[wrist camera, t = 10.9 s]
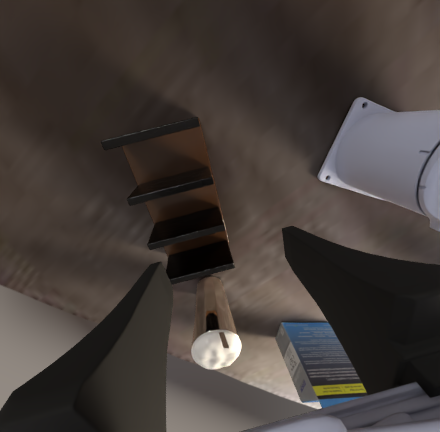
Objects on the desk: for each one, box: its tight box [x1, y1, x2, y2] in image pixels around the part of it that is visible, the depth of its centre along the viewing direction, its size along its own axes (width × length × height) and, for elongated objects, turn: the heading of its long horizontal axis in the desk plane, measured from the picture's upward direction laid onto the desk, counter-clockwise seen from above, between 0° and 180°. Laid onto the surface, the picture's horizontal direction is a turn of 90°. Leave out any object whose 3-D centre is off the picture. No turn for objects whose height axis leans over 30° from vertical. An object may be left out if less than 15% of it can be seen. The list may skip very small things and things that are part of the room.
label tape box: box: [276, 322, 368, 408], centre depth 26 cm, size 9×4×12 cm, turn 80°
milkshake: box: [191, 276, 241, 369], centre depth 21 cm, size 4×5×10 cm
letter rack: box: [101, 117, 235, 285], centre depth 18 cm, size 13×7×5 cm, turn 13°
